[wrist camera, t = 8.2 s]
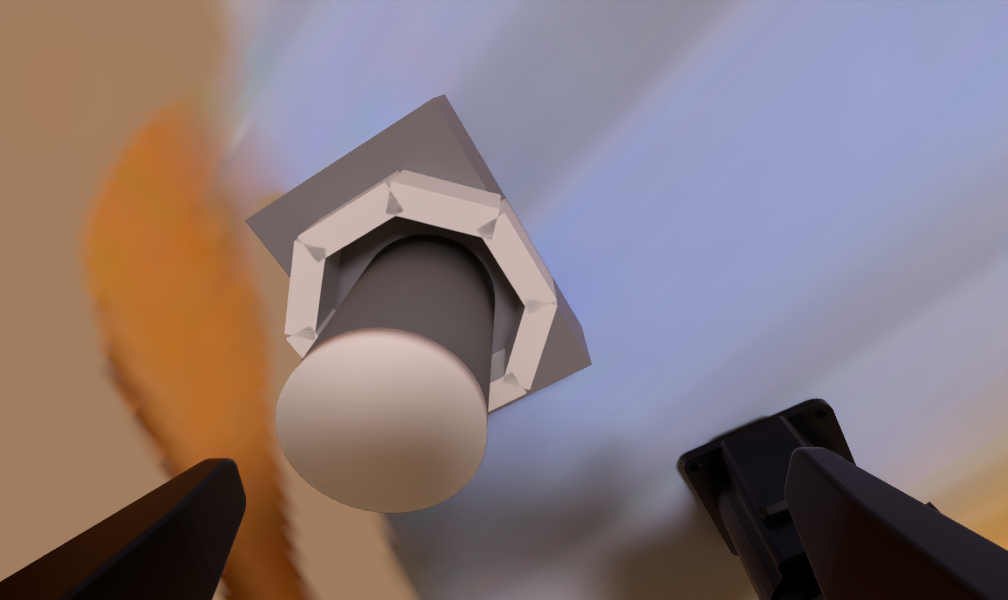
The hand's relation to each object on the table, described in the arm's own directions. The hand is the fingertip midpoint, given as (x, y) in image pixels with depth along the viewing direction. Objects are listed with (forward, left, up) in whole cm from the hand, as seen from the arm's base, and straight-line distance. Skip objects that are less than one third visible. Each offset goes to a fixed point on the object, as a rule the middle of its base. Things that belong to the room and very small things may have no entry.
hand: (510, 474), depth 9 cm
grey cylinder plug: (+1, +3, -9) cm, 10 cm away
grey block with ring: (+1, +3, -12) cm, 13 cm away
